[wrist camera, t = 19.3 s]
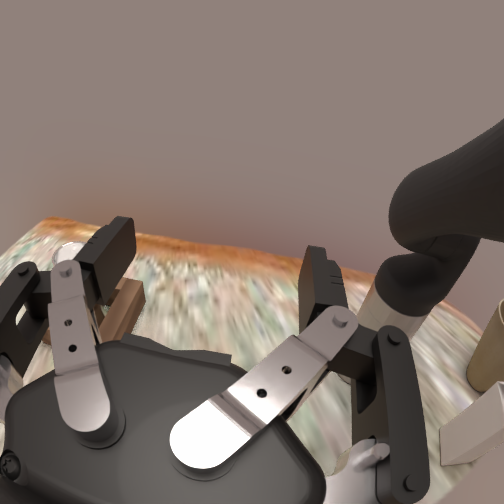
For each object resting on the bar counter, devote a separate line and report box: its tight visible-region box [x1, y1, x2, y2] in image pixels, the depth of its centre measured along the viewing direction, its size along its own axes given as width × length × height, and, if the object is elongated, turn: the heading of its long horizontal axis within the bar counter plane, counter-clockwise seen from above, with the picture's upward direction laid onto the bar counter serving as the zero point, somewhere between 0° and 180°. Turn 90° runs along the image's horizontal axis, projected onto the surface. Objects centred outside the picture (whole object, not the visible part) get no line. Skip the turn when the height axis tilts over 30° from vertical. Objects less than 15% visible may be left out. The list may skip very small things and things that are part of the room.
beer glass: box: [52, 241, 107, 328], centre depth 41 cm, size 7×7×15 cm
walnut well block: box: [42, 277, 146, 345], centre depth 44 cm, size 15×15×5 cm
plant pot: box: [467, 299, 504, 392], centre depth 38 cm, size 15×15×16 cm
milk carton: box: [439, 381, 504, 466], centre depth 26 cm, size 7×7×19 cm
